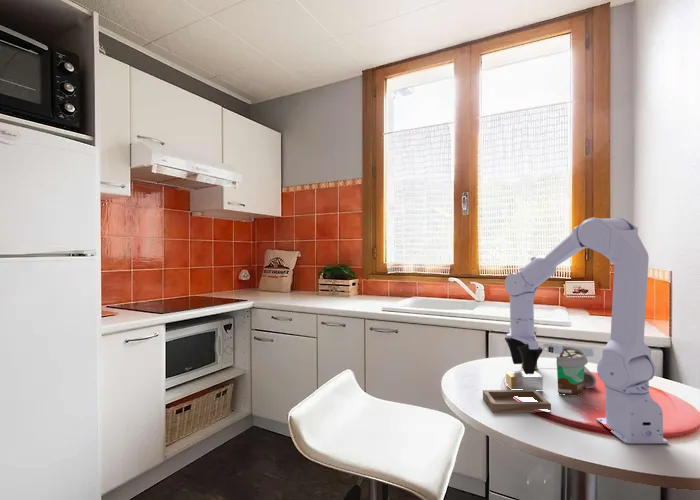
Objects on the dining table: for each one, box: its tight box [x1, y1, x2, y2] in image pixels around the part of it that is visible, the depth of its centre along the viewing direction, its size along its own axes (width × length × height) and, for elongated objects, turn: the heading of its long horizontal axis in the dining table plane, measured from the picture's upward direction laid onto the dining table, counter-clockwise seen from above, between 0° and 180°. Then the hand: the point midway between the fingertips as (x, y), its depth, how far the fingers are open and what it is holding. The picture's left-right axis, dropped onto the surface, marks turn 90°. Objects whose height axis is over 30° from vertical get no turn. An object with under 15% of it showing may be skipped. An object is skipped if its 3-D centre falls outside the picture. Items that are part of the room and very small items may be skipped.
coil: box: [583, 365, 597, 389], centre depth 105 cm, size 5×5×18 cm
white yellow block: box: [505, 370, 544, 391], centre depth 98 cm, size 4×8×4 cm, turn 86°
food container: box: [556, 345, 588, 396], centre depth 95 cm, size 12×6×10 cm, turn 143°
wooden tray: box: [482, 389, 552, 414], centre depth 88 cm, size 8×13×2 cm, turn 86°
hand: (523, 368), depth 98 cm, fingers open, 7 cm apart
